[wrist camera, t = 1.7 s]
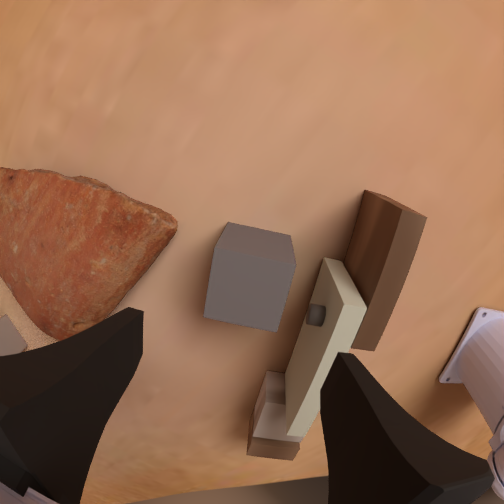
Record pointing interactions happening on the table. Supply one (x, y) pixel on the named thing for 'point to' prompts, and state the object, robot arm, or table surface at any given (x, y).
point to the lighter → (10, 338)
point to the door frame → (372, 293)
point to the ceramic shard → (74, 246)
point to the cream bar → (321, 343)
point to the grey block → (250, 277)
